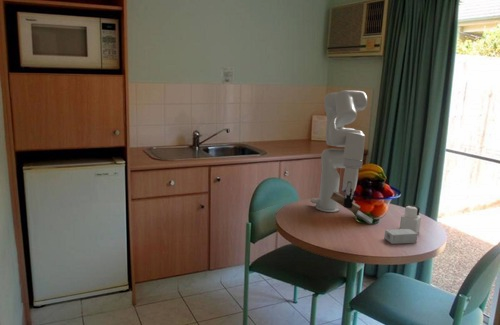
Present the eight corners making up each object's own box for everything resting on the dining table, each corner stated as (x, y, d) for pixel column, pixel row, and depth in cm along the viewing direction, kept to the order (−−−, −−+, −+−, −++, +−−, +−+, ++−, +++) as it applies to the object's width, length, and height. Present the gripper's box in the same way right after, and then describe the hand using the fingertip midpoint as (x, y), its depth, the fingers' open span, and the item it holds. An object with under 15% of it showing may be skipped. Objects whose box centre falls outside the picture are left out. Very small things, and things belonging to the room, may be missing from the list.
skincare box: (391, 244, 178) (416, 243, 180) (392, 234, 177) (418, 233, 180) (383, 238, 184) (408, 237, 186) (385, 229, 183) (409, 228, 185)
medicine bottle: (403, 227, 199) (406, 202, 197) (419, 231, 195) (423, 206, 193) (399, 231, 194) (402, 206, 191) (415, 235, 190) (418, 209, 187)
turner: (329, 198, 174) (333, 192, 173) (331, 195, 178) (335, 190, 178) (370, 224, 170) (374, 218, 169) (371, 220, 175) (375, 215, 174)
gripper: (345, 158, 179) (341, 200, 183) (340, 165, 164) (336, 210, 168) (364, 160, 177) (359, 202, 181) (360, 167, 162) (355, 213, 166)
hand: (348, 206), depth 174 cm, fingers closed on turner, 2 cm apart
